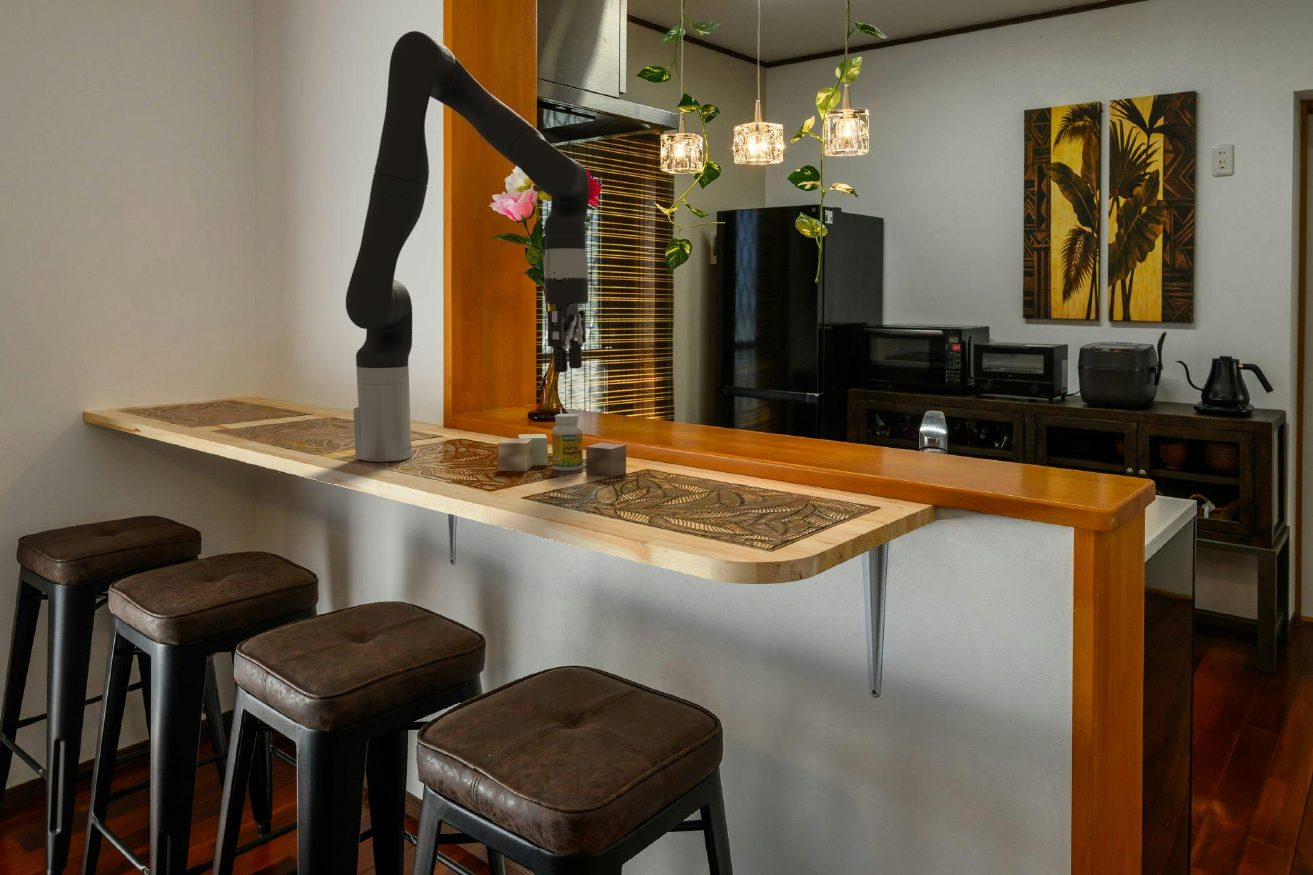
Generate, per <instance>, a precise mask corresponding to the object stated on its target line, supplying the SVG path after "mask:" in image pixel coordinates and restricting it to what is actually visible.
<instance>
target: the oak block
mask: <svg viewBox="0 0 1313 875" xmlns="http://www.w3.org/2000/svg"><path fill="white" fill-rule="evenodd" d="M497 453H498V454H497V456H498V463H497V464H498V472H501V471H502V472H503V471H504V472H505V471H506V472H507V471H508V472H528V471H529V470H530V469H531V468H532V467H533V465H532V439H518V438H503V439H502V440H500V441H499V442H497Z"/></svg>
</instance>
